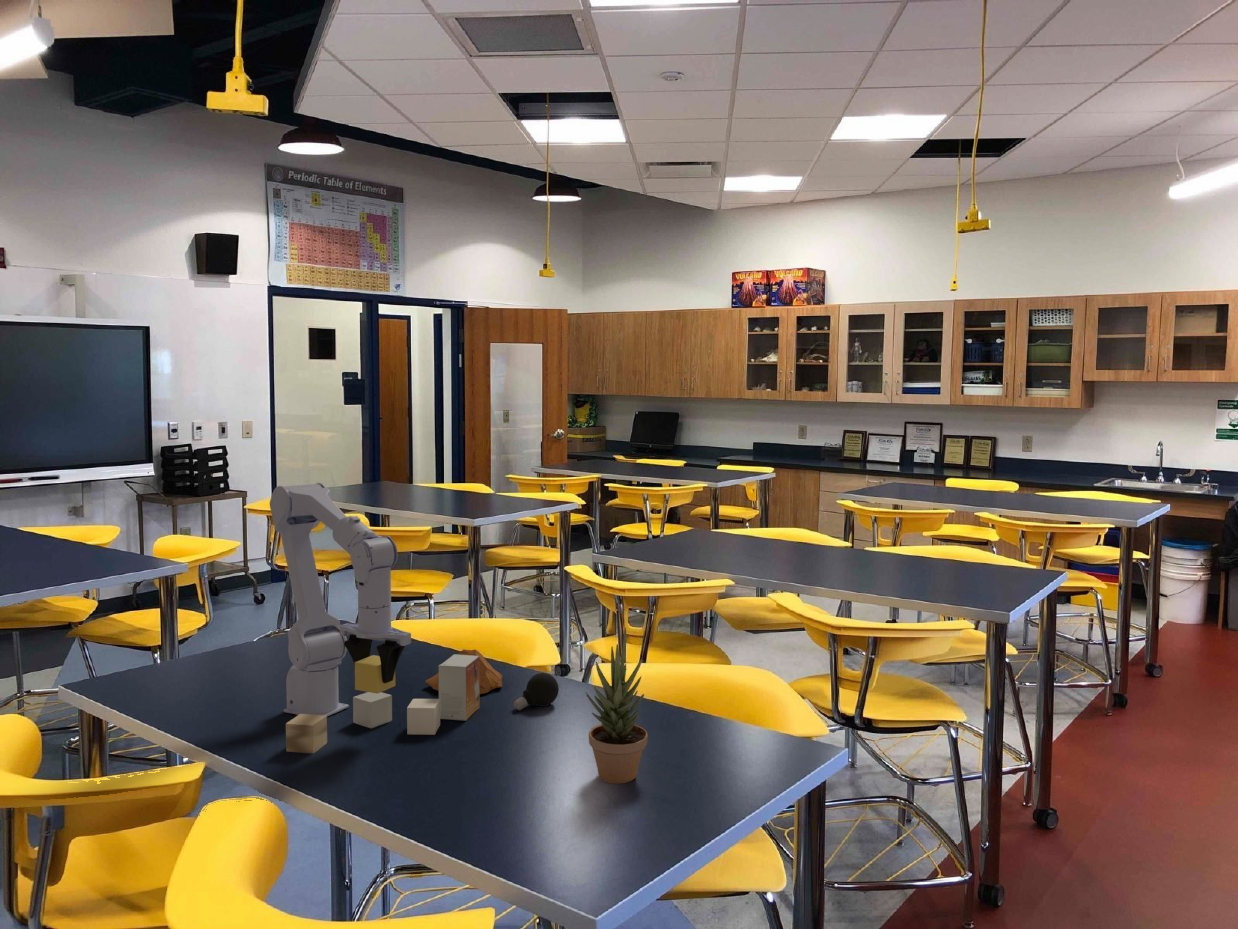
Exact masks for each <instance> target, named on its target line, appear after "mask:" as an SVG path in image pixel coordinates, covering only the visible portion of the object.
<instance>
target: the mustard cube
mask: <svg viewBox="0 0 1238 929" xmlns="http://www.w3.org/2000/svg"><path fill="white" fill-rule="evenodd" d="M396 685H397V684H396V672H395V673H394V677H393V681H390V682H388V683H383V681H382V672H381V661H380V657H379V655H375V654H372V655H370V657H367V658H364V659H362V660H359V661H357V662H355V665H354V690H355V691H360V692H365V693H367V692H371V693H376V694H378V693H380V692H382V693H383V692H384V691H387V690H389V689H391V688H394V687H395V686H396Z"/></svg>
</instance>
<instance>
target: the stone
mask: <svg viewBox="0 0 1238 929" xmlns="http://www.w3.org/2000/svg"><path fill="white" fill-rule="evenodd" d="M457 655H472V656H480V695H482V694H483V695H484V694H486V693H489V692H490V691H492V690H494V689H497V688H498V689H499V688H500V689H501V688H502V686H503V684H504V682H503V681H502V680H503V678H504V677H503V674H501V673H500V672H498V671H497V670H495V668H493V667H492V665H491V664H490V663H489V662H488V661H487V660H486V658H485V657H484V656H483V654H482V653H480V651H479V650H478V649H471V650H470V649H462V650H461V651H460V652H458V653H457ZM425 683H426V684H427V685H429V686H430V687H431V688H432V689H433V690H435V691H437V692H439V671H438V672H437V673H436V674H435V675H433V676H431V677H430V678H428V679H426V680H425Z"/></svg>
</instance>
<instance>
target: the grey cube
mask: <svg viewBox="0 0 1238 929" xmlns="http://www.w3.org/2000/svg"><path fill="white" fill-rule="evenodd" d="M352 714H353V715H352V720H353V724H357V725H360V726H363V727H366V728H369V729H373V728H376V727H378V726H382V725H385V724H387V723H391V722H392V721H393V695H392V694H389V693H385V692H383V691H382V692H380V693H378V694H376V693H371V692H364V693H360V694H358V695H356V696H353V697H352Z"/></svg>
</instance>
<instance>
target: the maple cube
mask: <svg viewBox="0 0 1238 929" xmlns="http://www.w3.org/2000/svg"><path fill="white" fill-rule="evenodd" d="M327 720H328V716H324V715H311V714H299V715H296V716H295V717H293V718H292V719H290V720H289V721H287V722H286V723H285V746H286V748H285V750H286V752H287V753H289V752H292V753H301V754H302V753H303V754H315V753H316V752H317V751H319V750H321V749H322V748H323V747H324V746H325V745H326V744H327V743H328V723H327V722H328V721H327Z"/></svg>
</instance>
